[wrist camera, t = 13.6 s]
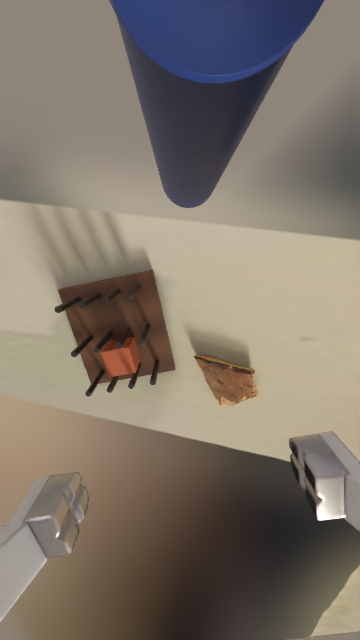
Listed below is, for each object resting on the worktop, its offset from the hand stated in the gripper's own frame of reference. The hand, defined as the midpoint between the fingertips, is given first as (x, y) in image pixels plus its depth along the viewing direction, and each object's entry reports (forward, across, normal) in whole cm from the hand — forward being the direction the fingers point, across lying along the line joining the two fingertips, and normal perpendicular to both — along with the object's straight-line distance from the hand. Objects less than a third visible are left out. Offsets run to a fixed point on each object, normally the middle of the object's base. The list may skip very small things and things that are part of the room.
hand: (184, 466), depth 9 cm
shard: (+27, -4, +14) cm, 31 cm away
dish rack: (+27, +10, +2) cm, 29 cm away
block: (+26, +10, +5) cm, 28 cm away
